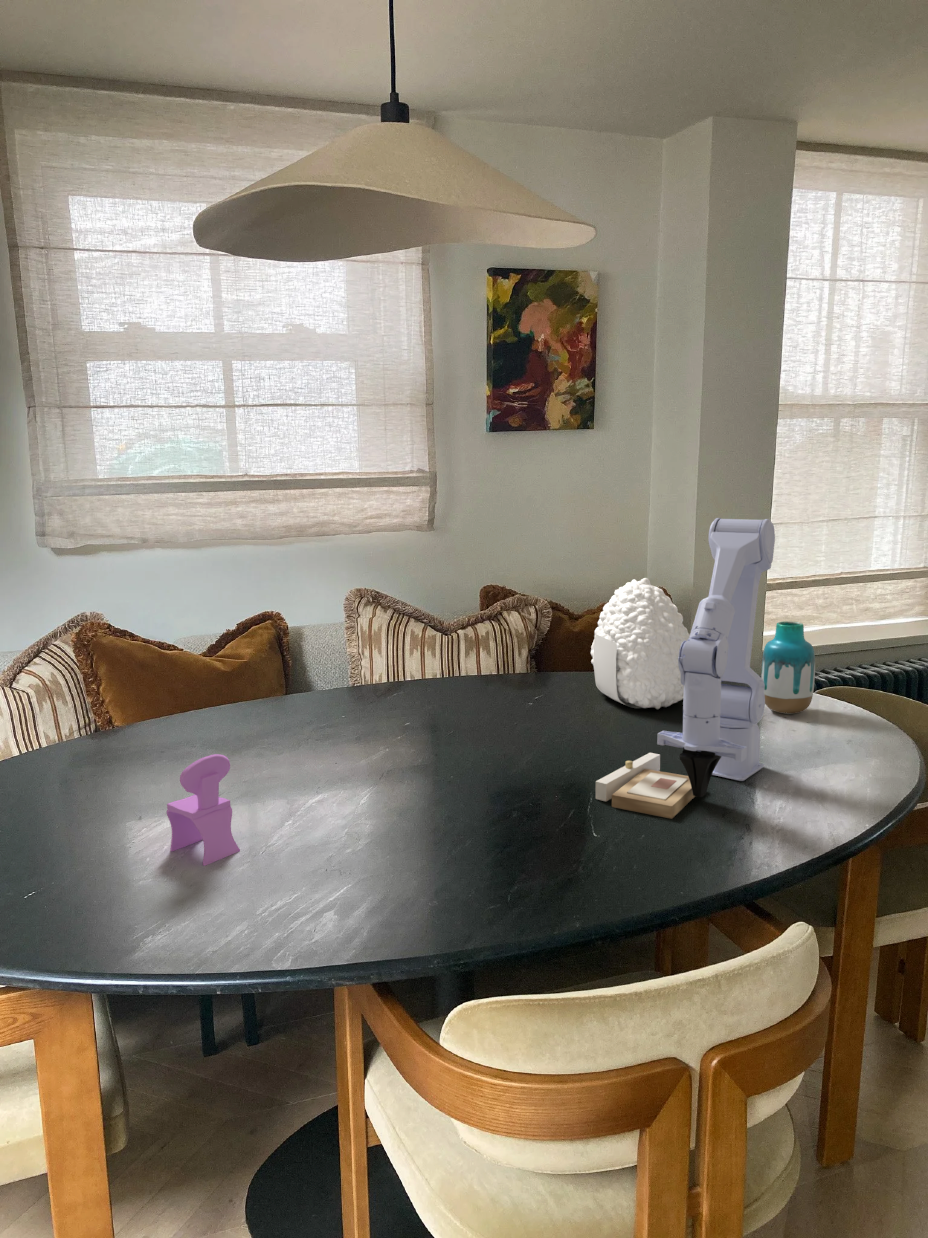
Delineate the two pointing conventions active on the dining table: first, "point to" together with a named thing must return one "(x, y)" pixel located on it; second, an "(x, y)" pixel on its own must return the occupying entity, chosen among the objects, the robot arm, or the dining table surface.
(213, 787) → the toy chair
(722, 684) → the robot arm
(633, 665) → the rice ball
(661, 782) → the frame
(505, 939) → the dining table surface
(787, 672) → the vase
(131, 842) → the dining table surface
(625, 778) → the rail
